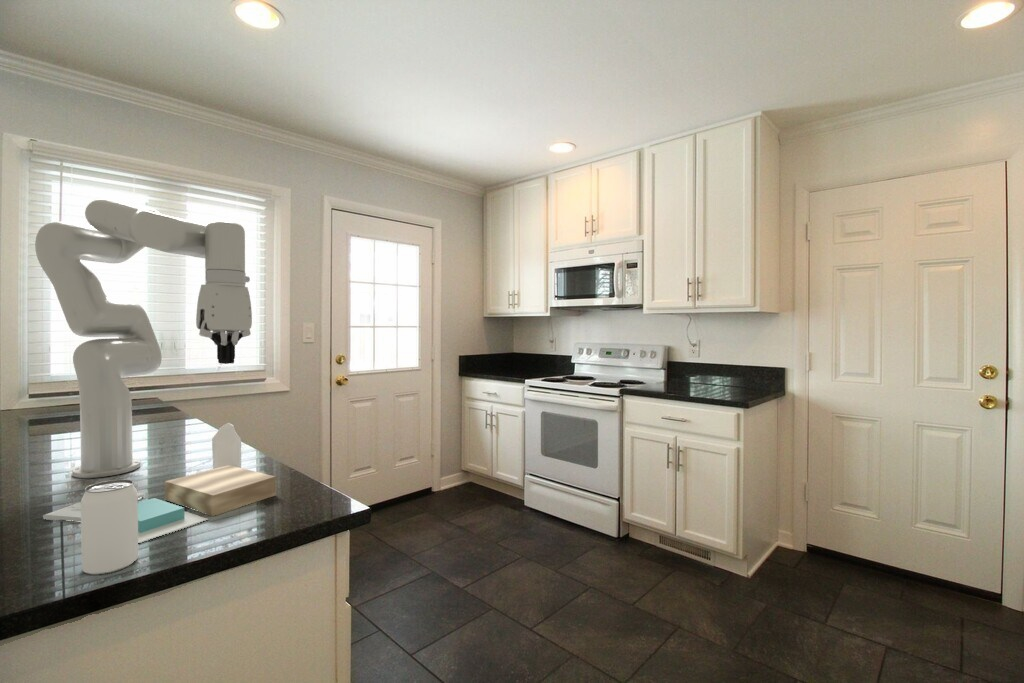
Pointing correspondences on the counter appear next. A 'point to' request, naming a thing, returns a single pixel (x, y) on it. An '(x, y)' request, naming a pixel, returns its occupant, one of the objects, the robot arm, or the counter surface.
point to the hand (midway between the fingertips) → (226, 363)
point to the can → (109, 526)
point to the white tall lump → (226, 447)
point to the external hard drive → (70, 512)
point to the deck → (220, 489)
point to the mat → (171, 527)
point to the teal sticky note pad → (157, 514)
